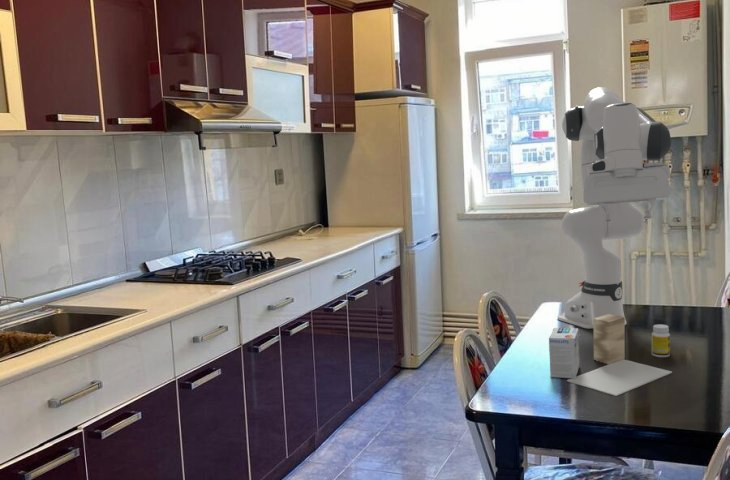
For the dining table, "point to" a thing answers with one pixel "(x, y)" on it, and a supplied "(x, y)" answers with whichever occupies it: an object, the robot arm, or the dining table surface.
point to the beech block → (609, 338)
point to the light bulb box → (564, 352)
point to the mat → (619, 377)
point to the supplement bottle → (660, 341)
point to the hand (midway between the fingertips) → (627, 220)
